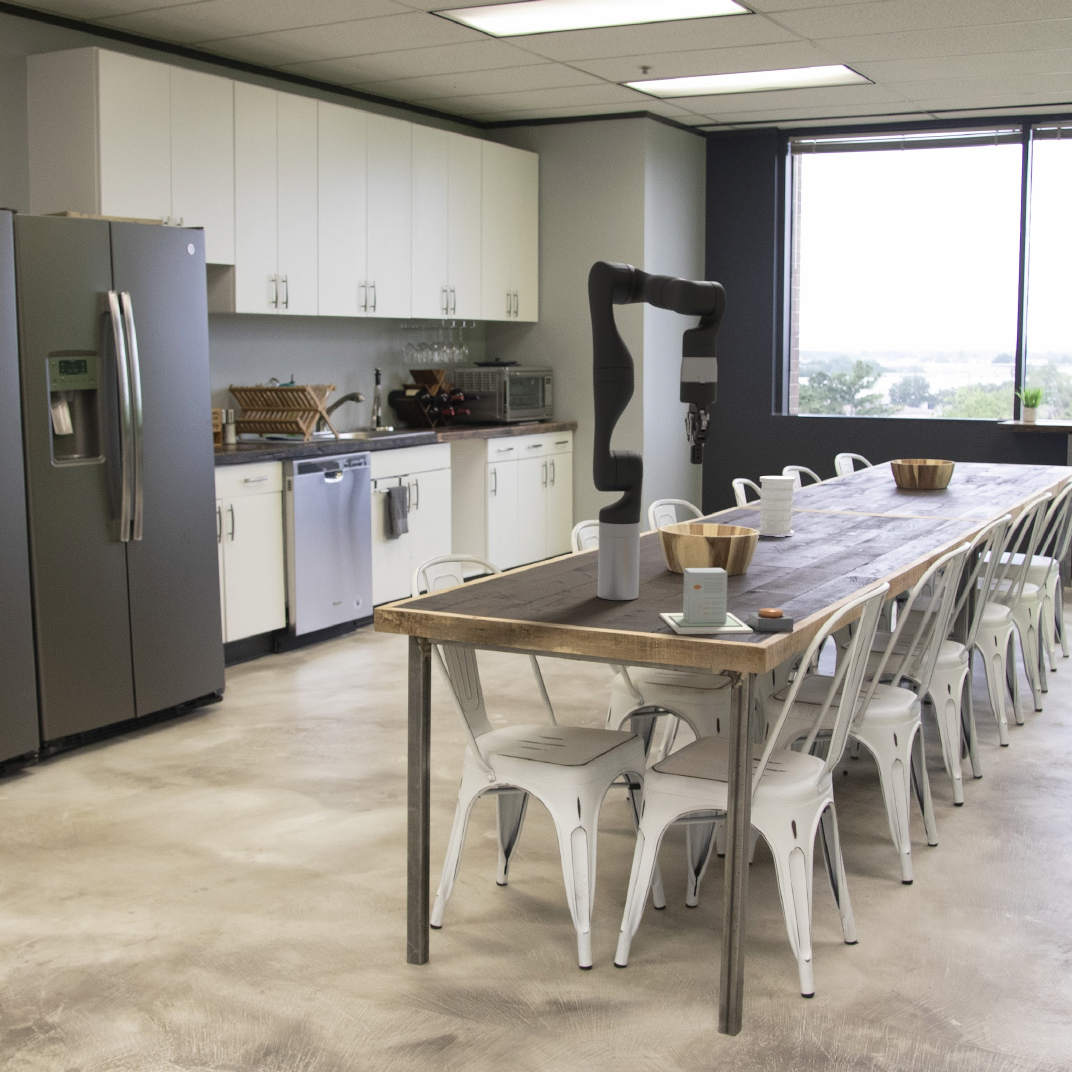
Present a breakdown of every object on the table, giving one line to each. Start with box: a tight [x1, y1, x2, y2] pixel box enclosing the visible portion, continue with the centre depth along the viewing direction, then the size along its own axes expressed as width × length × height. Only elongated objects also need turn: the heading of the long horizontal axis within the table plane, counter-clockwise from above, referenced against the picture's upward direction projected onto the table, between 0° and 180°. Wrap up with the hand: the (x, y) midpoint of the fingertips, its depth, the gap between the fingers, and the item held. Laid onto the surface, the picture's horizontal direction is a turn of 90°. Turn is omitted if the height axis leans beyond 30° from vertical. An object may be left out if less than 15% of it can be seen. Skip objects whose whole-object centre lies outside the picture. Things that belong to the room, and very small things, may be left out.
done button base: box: [747, 611, 794, 632], centre depth 257 cm, size 7×7×2 cm
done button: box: [758, 607, 784, 618], centre depth 257 cm, size 5×5×3 cm
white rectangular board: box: [659, 611, 754, 635], centre depth 259 cm, size 18×15×1 cm
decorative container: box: [757, 475, 796, 535], centre depth 396 cm, size 12×12×18 cm
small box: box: [682, 567, 728, 623], centre depth 259 cm, size 8×6×10 cm
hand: (696, 463), depth 264 cm, fingers closed
